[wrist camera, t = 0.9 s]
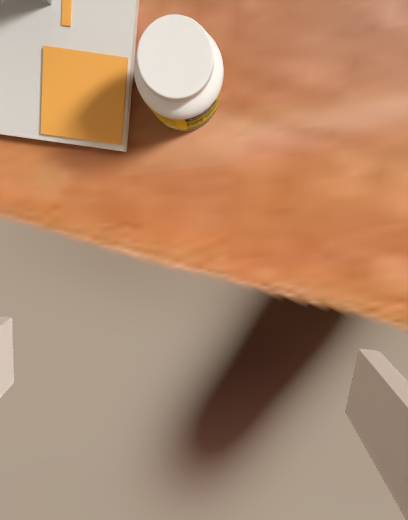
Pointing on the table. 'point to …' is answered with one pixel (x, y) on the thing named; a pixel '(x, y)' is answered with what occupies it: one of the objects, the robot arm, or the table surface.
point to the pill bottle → (179, 72)
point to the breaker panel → (68, 70)
